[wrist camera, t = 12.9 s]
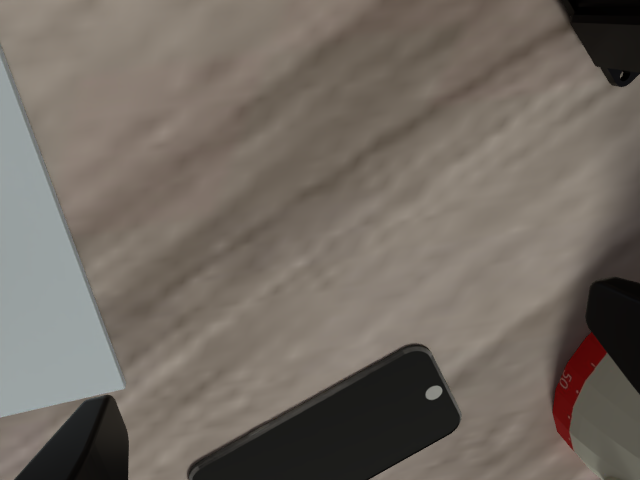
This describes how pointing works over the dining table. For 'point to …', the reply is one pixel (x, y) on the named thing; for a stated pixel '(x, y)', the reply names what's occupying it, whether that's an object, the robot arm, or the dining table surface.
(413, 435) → the smartphone
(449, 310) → the dining table surface
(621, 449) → the kitchen timer
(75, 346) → the mat
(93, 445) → the robot arm
